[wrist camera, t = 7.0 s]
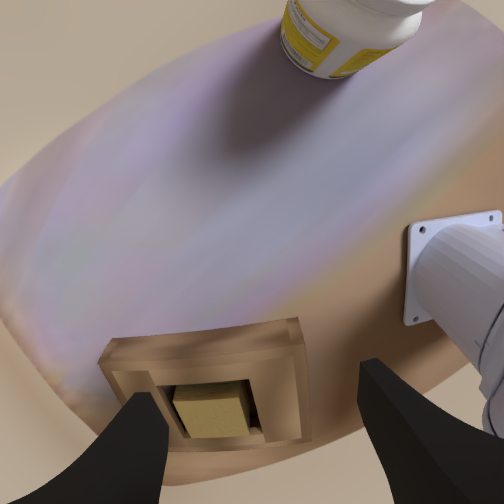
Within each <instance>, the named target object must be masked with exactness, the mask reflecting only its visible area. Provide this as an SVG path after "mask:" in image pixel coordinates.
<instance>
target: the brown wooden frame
mask: <svg viewBox="0 0 504 504" xmlns="http://www.w3.org/2000/svg"><path fill="white" fill-rule="evenodd" d="M98 364H99V366H100V368H101V370H102V372H103V373H104V375H105V377H106V379H107V381H108V382H109V384H110V386H111V388H112V389H113V391H114V393H115V394H116V396H117V398H118V399H119V401H120V403H121V404H122V406H124V405H125V404H126V402H127V401H128V400H129V399H130V398H131V396H132V395H133V394H134V393H135V392H150V393H151V395H152V396H153V398H154V400H155V402H156V404H157V406H158V407H159V409H160V411H161V413H162V415H163V416H164V418H165V420H166V422H167V423H168V425H169V445H168V452H217V451H236V450H249V449H260V448H269V447H277V446H285V445H291V444H298V443H304V442H310V441H312V438H311V420H310V403H309V388H308V375H307V362H306V350H305V342H304V338H303V334H302V331H301V327H300V323H299V320H298V317H296V318H290V319H284V320H278V321H271V322H265V323H258V324H251V325H244V326H237V327H229V328H221V329H213V330H205V331H196V332H186V333H176V334H166V335H155V336H142V337H129V338H113V339H111V341H110V343H109V344H108V346H107V348H106V349H105V351H104V353H103V354H102V356H101V358H100V359H99V361H98ZM243 379H249V380H250V384H251V389H252V393H253V396H254V400H255V404H256V408H257V412H258V416H259V417H258V418H250V435H248V436H235V437H218V438H191V436H190V435H189V433H188V431H187V429H186V427H185V425H184V423H183V422H180V421H179V419H178V417H177V415H176V413H175V412H174V410H173V408H172V406H171V404H170V402H169V400H168V398H167V396H166V394H165V392H164V390H163V388H162V386H161V385H184V384H200V383H213V382H224V381H234V380H243Z"/></svg>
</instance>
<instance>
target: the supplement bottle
mask: <svg viewBox="0 0 504 504" xmlns="http://www.w3.org/2000/svg"><path fill="white" fill-rule="evenodd" d="M434 1H435V0H288V2H287V5H286V9H285V12H284V16H283V19H282V23H281V29H280V40H281V44H282V47H283V49H284V51H285V53H286V55H287V56H288V58H289V59H290V60H291V61H292V62H293V63H294V64H295V65H296V66H297V67H298V68H300V69H301V70H303V71H304V72H306V73H308V74H310V75H313V76H316V77H319V78H324V79H340V78H345V77H348V76H350V75H352V74H354V73H356V72H358V71H359V70H361V69H362V68H364V67H365V66H367V65H369V64H370V63H372V62H373V61H375V60H377V59H378V58H380V57H382V56H383V55H385V54H387V53H388V52H390V51H392V50H393V49H395V48H397V47H398V46H400V45H402V44H403V43H405V42H406V41H407V40H409V39H410V38H411V37H412V36H413V35H414V34H415V33H416V31H417V30H418V28H419V25H420V23H421V17H422V10H423V9H425V8H426V7H427V6H429V5H430V4H432V3H433V2H434Z"/></svg>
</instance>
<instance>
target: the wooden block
mask: <svg viewBox="0 0 504 504" xmlns="http://www.w3.org/2000/svg"><path fill="white" fill-rule="evenodd" d="M173 403H174V405H175V407H176V409H177V411H178V413H179V415H180V417H181V419H182V421H183V423H184V425H185V427H186V429H187V431H188V433H189V435H190V436H191V438H218V437H235V436H248V435H250V412H249V396H248V392H247V388H246V384H245V380H244V379H243V380H234V381H224V382H213V383H200V384H184V385H177V386H176V390H175V394H174V399H173Z"/></svg>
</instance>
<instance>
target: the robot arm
mask: <svg viewBox="0 0 504 504" xmlns="http://www.w3.org/2000/svg"><path fill="white" fill-rule="evenodd" d="M489 217H490V219H489ZM422 226H423V230H422V231H421V232H420V231H419V230H420V228H421V227H422ZM416 316H417V317H416ZM415 317H416V318H415ZM414 318H415V319H414ZM413 319H414V320H413ZM432 319H433V320H434V321H435V322H436V323H437V324H438V325H439V326H440V327H441V329H442V330H443V331H444V332H445V333H446V334H447V335H448V336H449V338H450V339H451V340H452V341H453V342H454V343H455V345H456V346H457V347H458V348H459V349H460V350H461V352H462V353H463V354H464V355H465V356H466V357H467V359H468V360H469V361H470V362H471V363H472V365H473V366H474V367H475V368H476V370H477V371H478V372H479V373H480V375H481V376H482V381H481V384H480V386H479V390H480V391H481V392H482V394H483V395H484V397H485V398H486V399H487V402H486V404H485V407H484V410H483V414H482V424H483V430H484V431H482V430H479V429H477V428H475V427H473V426H471V425H468V424H467V423H464V422H463V421H461V420H459V419H457V418H455V417H453V416H452V415H450V414H449V413H447V412H446V411H444V410H442V409H441V408H439V407H438V406H436V405H435V404H433V403H432V402H430V401H429V400H428V399H427V398H425V397H424V396H422V395H421V394H420V393H419V392H417V391H416V390H415V389H413V388H412V387H411V386H410V385H408V384H407V383H406V382H405V381H404V380H402V379H401V378H400V377H399V376H398V375H396V374H395V373H394V372H393V371H392V370H391V369H390V368H388V367H387V366H386V365H385V364H384V363H383V362H382V361H380V360H379V359H378V358H374V359H371V360H367V361H363V362H360V372H359V384H358V395H357V403H358V406H359V410H360V413H361V416H362V420H363V423H364V426H365V428H366V430H367V433H368V435H369V437H370V439H371V441H372V444H373V446H374V448H375V450H376V453H377V455H378V457H379V459H380V462H381V464H382V466H383V469H384V471H385V474H386V476H387V479H388V482H389V485H390V489H391V492H392V496H393V500H394V504H504V225H503V224H502V213H501V211H499V210H492V211H486V212H479V213H472V214H466V215H459V216H453V217H446V218H440V219H433V220H427V221H420V222H414V223H412V224H411V225H410V226H409V228H408V256H407V279H406V294H405V306H404V316H403V322H404V324H405V325H406V326H411V325H415V324H418V323H422V322H425V321H429V320H432ZM168 445H169V425H168V423H167V422H166V420H165V418H164V416H163V415H162V413H161V411H160V409H159V407H158V406H157V404H156V402H155V400H154V398H153V396H152V395H151V393H150V392H135V393H134V394H133V395H132V396H131V398H130V399H129V400H128V401H127V402H126V404H125V405H124V406H123V407H122V409H121V410H120V411H119V412H118V414H117V415H116V416H115V417H114V419H113V420H112V421H111V422H110V423H109V425H108V426H107V427H106V428H105V429H104V431H103V432H102V433H101V434H100V435H99V436H98V438H97V439H96V440H95V441H94V442H93V443H92V444H91V445H90V446H89V447H88V448H87V449H86V451H85V452H84V453H83V454H82V455H81V456H80V457H79V458H78V459H77V460H76V461H74V462H73V463H72V464H71V465H70V466H69V467H67V468H66V469H65V470H64V471H63V472H61V473H60V474H59V475H57V476H56V477H55V478H53V479H52V480H50V481H49V482H48V483H46V484H45V485H43V486H42V487H40V488H38V489H37V490H35V491H34V492H32V493H30V494H28V495H26V496H24V497H22V498H20V499H18V500H15V501H13V502H10V503H8V504H159V497H160V491H161V486H162V481H163V476H164V470H165V465H166V460H167V454H168Z"/></svg>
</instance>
